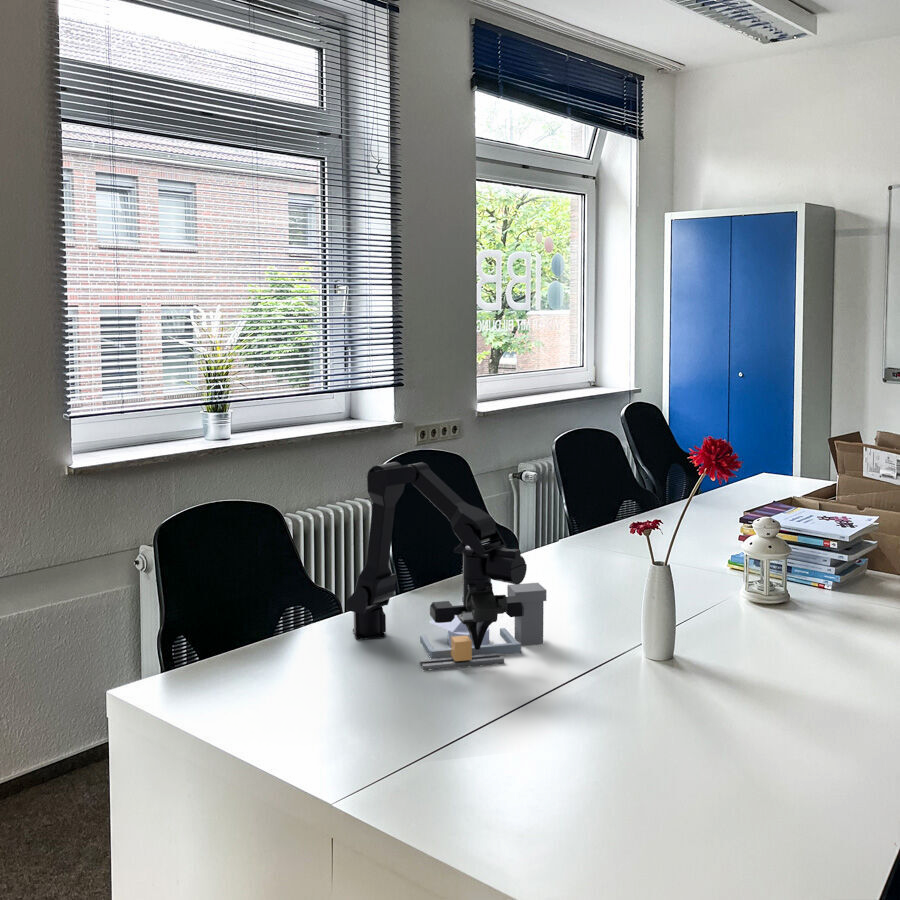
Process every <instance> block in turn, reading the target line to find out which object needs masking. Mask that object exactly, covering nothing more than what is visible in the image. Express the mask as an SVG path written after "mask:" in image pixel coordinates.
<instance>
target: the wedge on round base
mask: <svg viewBox="0 0 900 900" xmlns="http://www.w3.org/2000/svg"><path fill="white" fill-rule="evenodd" d="M428 623H430V624H432V625H435V626H437V627H439V628H442V629H444V630H446V631H447V637H448V638H447V643H449V644H450V645H451V637H455V636H467V635H468V637H469V638H470V639H471V637H470V634H469V631H468V629H467V626H466V624H462V622H461V621H460V620H459V618H458V617H457V615H455V618H454V619H453V620H452V621H451V622H445V623H436V622H435V621H434V620H433V618H432V617H431V619H430V621H429V622H428ZM471 641H472V640H471ZM449 644H448V645H449ZM450 645H449V646H450ZM481 645H490V626H489V627H488V629H487V631H486V633H485V635H484V638H483V641H482V644H481ZM472 646H474V645H473V642H472Z"/></svg>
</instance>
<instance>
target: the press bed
mask: <svg viewBox="0 0 900 900" xmlns="http://www.w3.org/2000/svg"><path fill="white" fill-rule="evenodd" d="M506 588H507V593H506V596H507V597H508V596H516V597H517V598H518V599H519V600H520V601H521V602H522V603H523V605H524V616H520V617H514V636H513V635H512V634H511V633H510V632H509V631H508V629H507V628H506V627H503V628H499V635H500V637H501V638H502V639H503V641H504V643H495V644H493V643H492V644H488V645H481V646H480V649H479V650H475V648H474V646H472V655H482V654H493V653H500V654H501V656H502V655H514V654H515V655H516V654H521V653H522V647H523V646H533V645H535V646H536V645H544V602H547V588H545V587H544V586H543V585H542V584H540V583H539V582H530V583H529V582H527V583H520V584H507V585H506ZM419 642H420V644H421V643H422V644H421V646H422V645H423V646H422V647H423V649H424V648H425V649H424V651H425V650H426V651H425V652H426V654H427V653H428V654H427V655H429V656H430V657H429V656H428V657H429V659H430V658H431V659H437V658H448V657H452V656H451V647H448V648H447V647H446V648H445V647H444V648H436V649H435V648H434V646H433V645H432V643H431V641H430V639H429V638H428V637H427V635H426V634H420V636H419Z"/></svg>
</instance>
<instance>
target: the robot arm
mask: <svg viewBox="0 0 900 900" xmlns="http://www.w3.org/2000/svg"><path fill="white" fill-rule="evenodd" d="M366 481H367V483H366V485H367V493H368V495H369V498H370V500H371V502H372V505H371V506H372V508H371V515H370V516H371V517H370V525H369V536H368V543H367V544H368V545H367V553H366V562H365V565H364V567H363V569H362V570H361V572H360V573H359V575H358V577H357V581H356V585H355V589H354V592H353V593H352V594H351V595H350V596H349V597H348V598H347V600H346V601H345V604H346V608H347V611H348V612H352V613H353V628H352V632H354V633H353V635H354V637H356V638H355V639H356V640H366V639H365V638H369V639H378V638H385V637H386V634H385V633H386V631H387V627H386V626H387V625H386V623H387V622H386V620H387V617H386V613H385V612H384V608H383V607H384V606H388V605H389V603H390V599H391V598H392V597H393V595H394V592H396V591H397V588H396V587H397V586H396V583H397V580H398V579H397V578H398V575H397V574H396V573H393V572H392V570H391V568H390V566H389V565H390V564H389V563H390V554H391V548H392V545H391V544H392V537H393V528H394V519H395V510H396V506H397V503H398V501H399V499H401V496H403V493H404V489H405V485H406V484H411V485H412V486H413V487H415V488H416V489H417V490H418V491H419V492H420V493H421V494H422V495H423V496H424V497H425V498H426V499H428V500H429V502H430V503H432V505H433V506H434V507H435V508H437V509H438V511H440V512H441V513H442V515H444V516H445V517H446V518H447V520H448V521H449V523H450V527H451V529H452V531H453V532H454V534H455V536H456V537H457V538H458V540H459V541H460V544H459V545H457V547H455V548H454V549H453V552H454V553H457V554H462V578H461V579H462V580H461V583H462V597H461V600H462V604H461V605H458V604H457V605H453V604H452V603H451V602H450V601H449V600H444V601H433V602H431V604H430V606H429V615H430V616H431V619H432V618H433V620H434V621H435V622H436V623H445V622H451V621H452V620H453V619H454V618H455V615H457V617H458V618H459V620H460V621H461V622H462V624H466V626H467V629H468V631H469V634H470V637H471V640H472V642H473V645H474V648H475V650H479V649H480V646H481V644H482V641H483V638H484V635H485V633H486V631H487V629H488V627H489V628H490V625H492V623H496V622H497V621H498V615H501V614H502V615H503V614H505V613H506V615H507V616H509V617H510V618H515V617H520V616H524V605H523V603H522V602H521V601H520V600H519V599H518V598H517V597H516V596H508V595H507V594H498V595H497V594H495V593H494V591H493V583H492V580H493V581H497V582H502V583H508V584H510V585H512V584H522V582H523V581H524V579H525V577H526V575H527V574H526V573H527V570H528V569H527V562H526V560H525V558H524V557H523V556H522V555H521V554H522V552H521V551H522V550H521V549H517V548H513V549H511V548H507V543H506V542H505V540H504V538H503V537H502V535H501V533H500V532H499V529H498V528H497V525H496V524H497V523H496V521H495V519H494V518H493V516H491V515H490V514H489V513H487V512H486V511H484V510H483V509H481V508H480V507H477V506H474V505H472V504H469V503H467V502H466V501H464V499H462V498H461V497H460V496H459V495H458V494H457V493H456V492H455V491H454V490H453V489H452V488H451V487H450V486H448V485H447V484H446V483H445V482H444V481H443V480H442V479H441V478H440V477H439V476H438V475H437V474H436V473H435V472H434V471H433V470H431V467H430V466H429V465H428V464H427V463H425V462H423V461H421V462H417V463H411V464H404V465H403V464H401V463H400V462H398V461H392V462H386V463H381V464H377V465H375V466H372V467H371V468H369V470H368V471H367V475H366ZM489 541H490V542H489ZM486 542H488V543H486ZM483 543H485V544H483Z"/></svg>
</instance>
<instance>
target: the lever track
mask: <svg viewBox="0 0 900 900" xmlns="http://www.w3.org/2000/svg"><path fill="white" fill-rule="evenodd" d="M503 664H505V658H504V657H503V656H502V655H501V654H500V653H493V654H482V655H472V660H464V661H454V659H453V657H448V658H437V659H430V658H427V659H425V658H424V659H419V666H420V665H421V666H422V667H421V666H420V667H421V670H422V669H423V670H427V671H430V670H429V669H438V670H444V669H443V668H449V669H456V668H455V667H460V668H469V667H468V666H471V667H479V666H480V665H482V666H493V665H503ZM423 670H422V671H423Z"/></svg>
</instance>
